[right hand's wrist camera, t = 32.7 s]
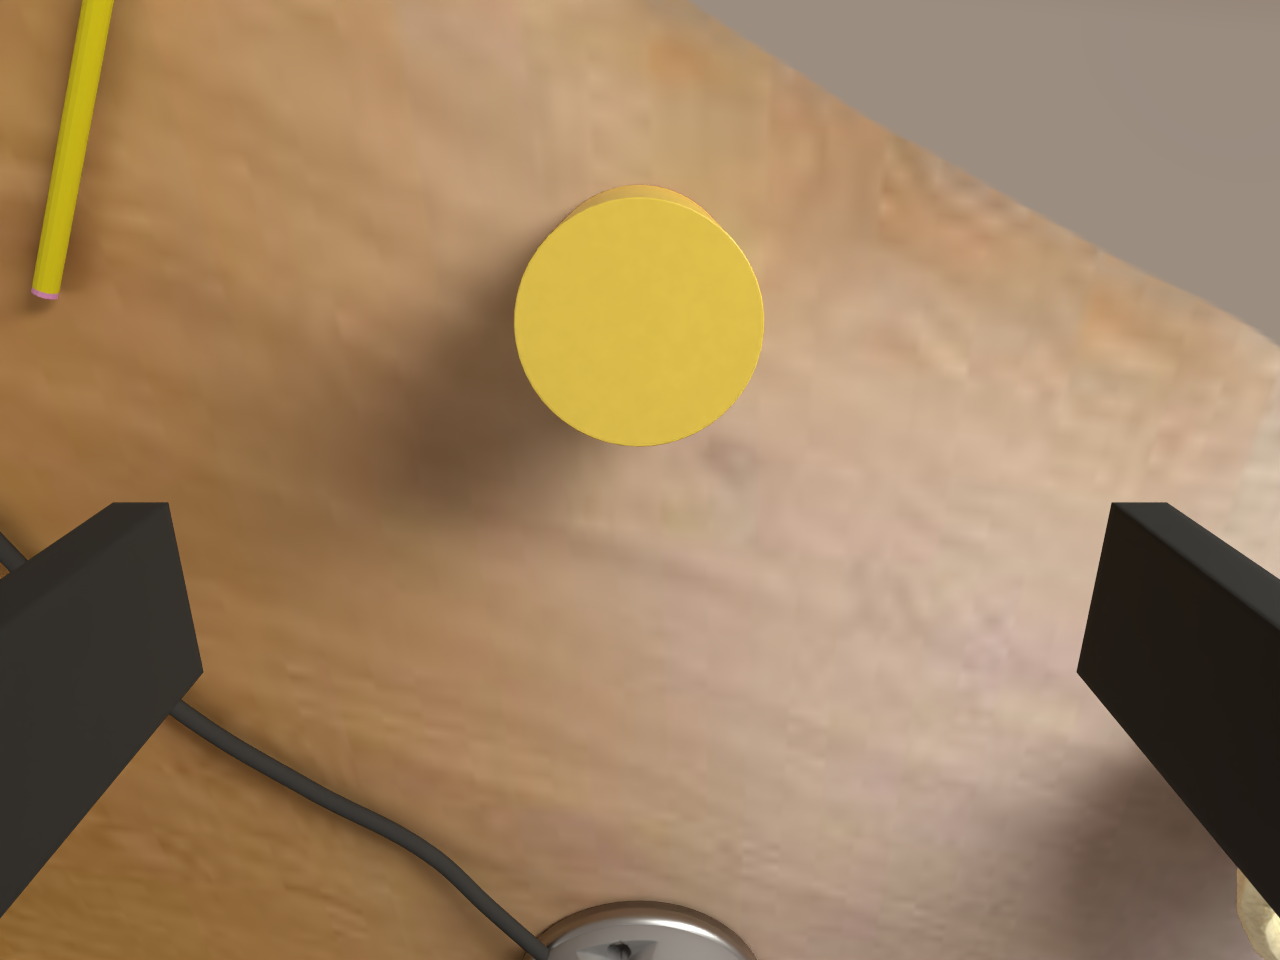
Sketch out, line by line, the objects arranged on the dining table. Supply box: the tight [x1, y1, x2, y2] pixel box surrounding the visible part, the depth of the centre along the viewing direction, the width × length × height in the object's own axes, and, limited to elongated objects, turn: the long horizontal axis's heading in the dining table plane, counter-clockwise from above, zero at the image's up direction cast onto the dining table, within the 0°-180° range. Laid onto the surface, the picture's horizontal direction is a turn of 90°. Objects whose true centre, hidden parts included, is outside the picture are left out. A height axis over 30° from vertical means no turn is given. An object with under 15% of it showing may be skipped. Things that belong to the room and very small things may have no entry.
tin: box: [514, 185, 764, 447], centre depth 34 cm, size 9×9×9 cm
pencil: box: [31, 0, 114, 299], centre depth 35 cm, size 16×1×1 cm, turn 157°
